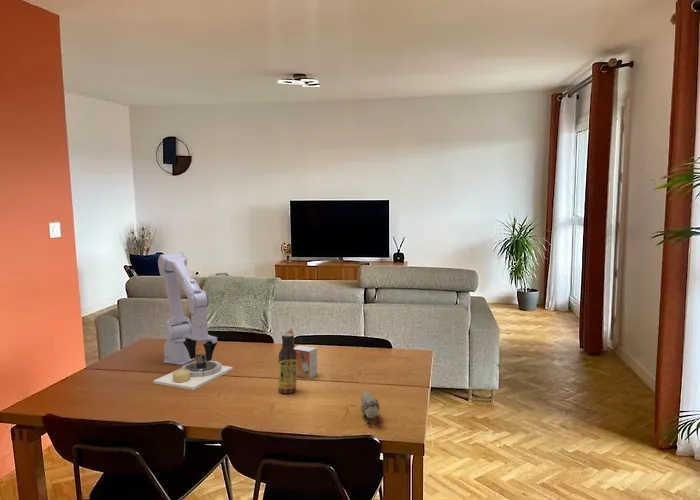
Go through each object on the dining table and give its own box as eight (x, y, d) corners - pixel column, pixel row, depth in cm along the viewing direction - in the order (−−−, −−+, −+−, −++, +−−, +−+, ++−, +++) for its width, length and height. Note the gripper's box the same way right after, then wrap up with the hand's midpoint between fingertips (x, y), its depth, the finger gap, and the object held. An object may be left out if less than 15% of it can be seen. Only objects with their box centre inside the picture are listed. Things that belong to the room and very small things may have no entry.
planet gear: (183, 372, 202) (182, 357, 201) (199, 364, 210) (199, 349, 210) (203, 375, 198) (203, 360, 197) (219, 367, 206) (219, 352, 206)
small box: (291, 376, 199) (290, 348, 198) (299, 371, 204) (299, 344, 203) (309, 379, 196) (309, 351, 194) (317, 374, 201) (317, 347, 199)
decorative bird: (374, 405, 171) (373, 383, 171) (383, 427, 156) (383, 403, 155) (357, 406, 171) (357, 384, 170) (365, 429, 155) (364, 404, 154)
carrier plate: (153, 383, 193) (152, 372, 193) (195, 364, 214) (195, 354, 214) (193, 390, 186) (193, 379, 186) (232, 369, 207) (232, 359, 207)
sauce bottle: (279, 395, 181) (278, 337, 178) (277, 388, 187) (275, 333, 184) (298, 393, 182) (297, 336, 180) (295, 386, 188) (294, 331, 186)
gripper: (221, 323, 203) (223, 358, 204) (191, 320, 208) (192, 354, 210) (209, 328, 196) (211, 364, 198) (178, 324, 202) (180, 359, 203)
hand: (200, 359), depth 203 cm, fingers open, 7 cm apart
